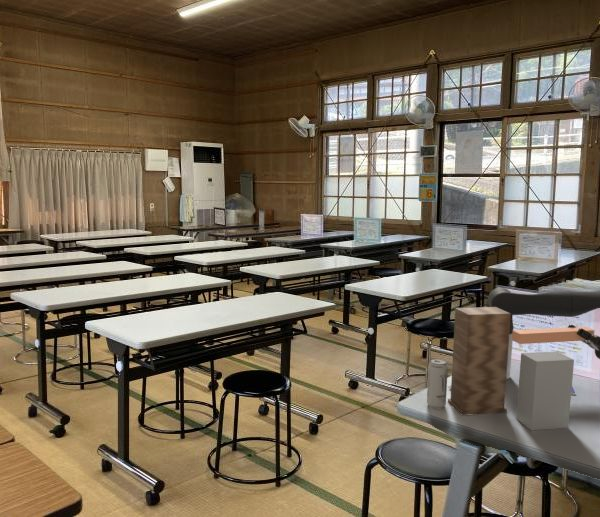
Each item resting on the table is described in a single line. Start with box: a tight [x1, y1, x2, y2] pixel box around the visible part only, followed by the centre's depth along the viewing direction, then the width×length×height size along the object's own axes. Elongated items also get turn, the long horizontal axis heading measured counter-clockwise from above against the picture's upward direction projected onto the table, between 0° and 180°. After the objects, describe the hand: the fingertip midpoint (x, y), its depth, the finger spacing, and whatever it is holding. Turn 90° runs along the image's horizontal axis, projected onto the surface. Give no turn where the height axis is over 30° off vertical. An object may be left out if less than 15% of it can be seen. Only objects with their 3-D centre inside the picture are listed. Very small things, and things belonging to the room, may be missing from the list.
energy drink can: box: [426, 358, 449, 410], centre depth 179 cm, size 6×6×15 cm
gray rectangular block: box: [516, 351, 575, 431], centre depth 167 cm, size 12×8×21 cm, turn 100°
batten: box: [512, 326, 595, 345], centre depth 164 cm, size 24×4×3 cm, turn 100°
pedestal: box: [447, 306, 511, 416], centre depth 177 cm, size 15×10×32 cm
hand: (573, 329), depth 165 cm, fingers closed on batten, 4 cm apart
